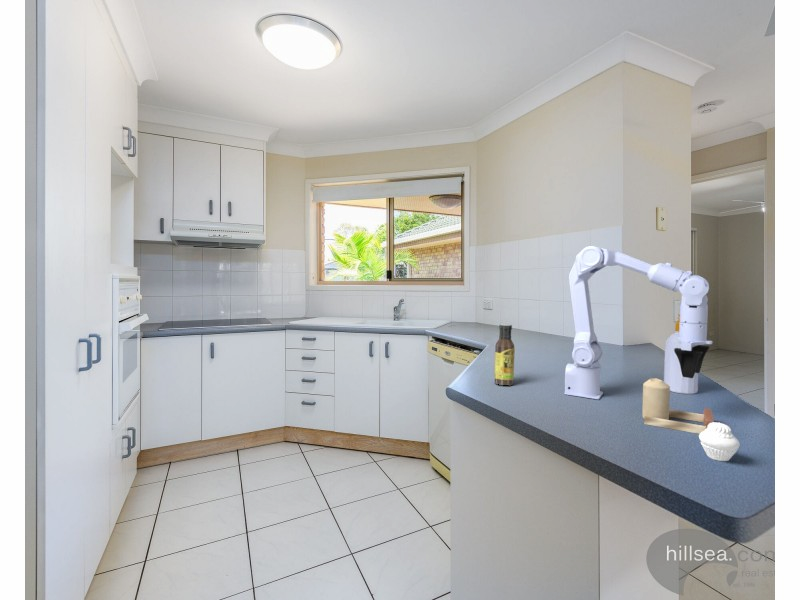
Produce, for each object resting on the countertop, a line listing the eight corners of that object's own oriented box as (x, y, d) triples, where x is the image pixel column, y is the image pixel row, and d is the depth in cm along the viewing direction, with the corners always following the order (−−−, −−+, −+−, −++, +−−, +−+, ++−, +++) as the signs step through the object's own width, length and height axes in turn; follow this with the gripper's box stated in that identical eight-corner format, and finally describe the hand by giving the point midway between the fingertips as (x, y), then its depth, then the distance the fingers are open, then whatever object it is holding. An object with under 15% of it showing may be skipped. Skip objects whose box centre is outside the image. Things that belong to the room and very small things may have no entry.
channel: (644, 423, 94) (644, 410, 94) (647, 411, 103) (647, 399, 102) (713, 436, 86) (714, 422, 86) (710, 422, 95) (711, 409, 95)
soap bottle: (696, 388, 124) (698, 313, 123) (699, 395, 116) (701, 315, 115) (663, 384, 129) (665, 312, 128) (664, 391, 121) (666, 314, 120)
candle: (673, 424, 94) (674, 382, 93) (647, 422, 95) (648, 381, 95) (662, 416, 99) (663, 377, 99) (638, 414, 100) (639, 376, 100)
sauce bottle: (505, 387, 126) (505, 326, 125) (490, 383, 131) (490, 324, 130) (518, 384, 130) (518, 324, 129) (503, 380, 135) (503, 323, 134)
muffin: (727, 467, 72) (728, 430, 72) (691, 454, 78) (692, 419, 77) (746, 461, 75) (747, 425, 74) (709, 448, 80) (711, 415, 80)
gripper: (707, 326, 93) (705, 382, 94) (717, 321, 103) (715, 372, 104) (672, 323, 98) (670, 377, 99) (684, 319, 108) (683, 368, 109)
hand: (691, 374), depth 102 cm, fingers open, 7 cm apart
